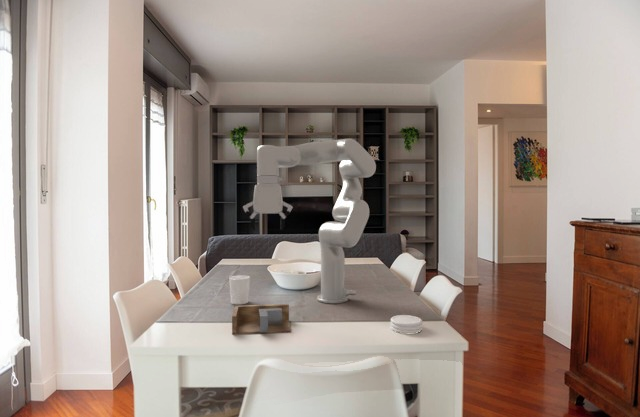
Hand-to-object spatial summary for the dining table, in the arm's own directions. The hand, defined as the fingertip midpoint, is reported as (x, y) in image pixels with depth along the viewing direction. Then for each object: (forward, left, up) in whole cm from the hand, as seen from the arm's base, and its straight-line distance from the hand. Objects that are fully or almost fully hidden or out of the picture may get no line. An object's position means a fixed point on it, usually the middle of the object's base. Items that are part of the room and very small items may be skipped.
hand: (267, 229), depth 150 cm
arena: (+2, +13, -30) cm, 33 cm away
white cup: (+11, -18, -31) cm, 37 cm away
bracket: (-1, +16, -30) cm, 34 cm away
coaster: (-44, +20, -31) cm, 57 cm away
